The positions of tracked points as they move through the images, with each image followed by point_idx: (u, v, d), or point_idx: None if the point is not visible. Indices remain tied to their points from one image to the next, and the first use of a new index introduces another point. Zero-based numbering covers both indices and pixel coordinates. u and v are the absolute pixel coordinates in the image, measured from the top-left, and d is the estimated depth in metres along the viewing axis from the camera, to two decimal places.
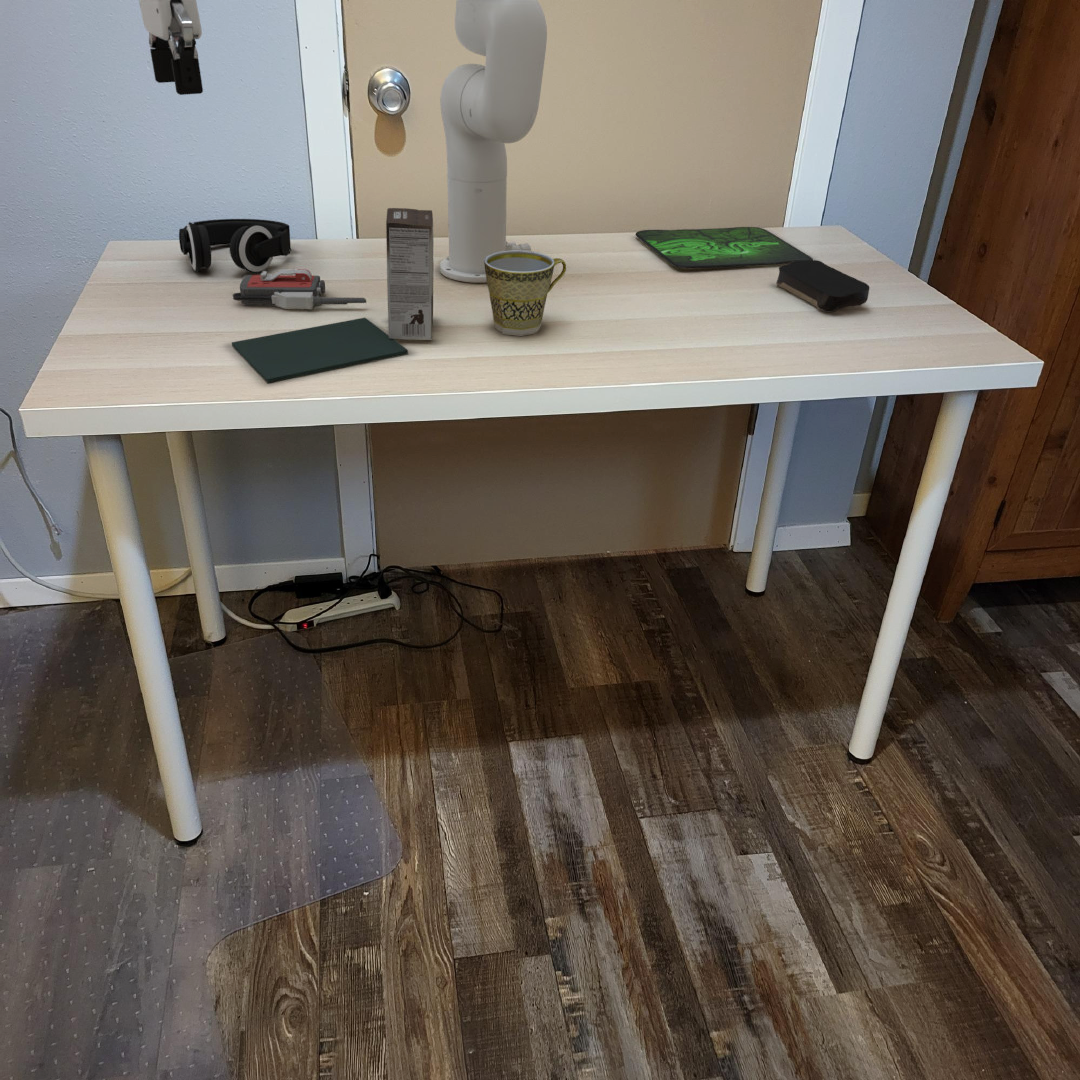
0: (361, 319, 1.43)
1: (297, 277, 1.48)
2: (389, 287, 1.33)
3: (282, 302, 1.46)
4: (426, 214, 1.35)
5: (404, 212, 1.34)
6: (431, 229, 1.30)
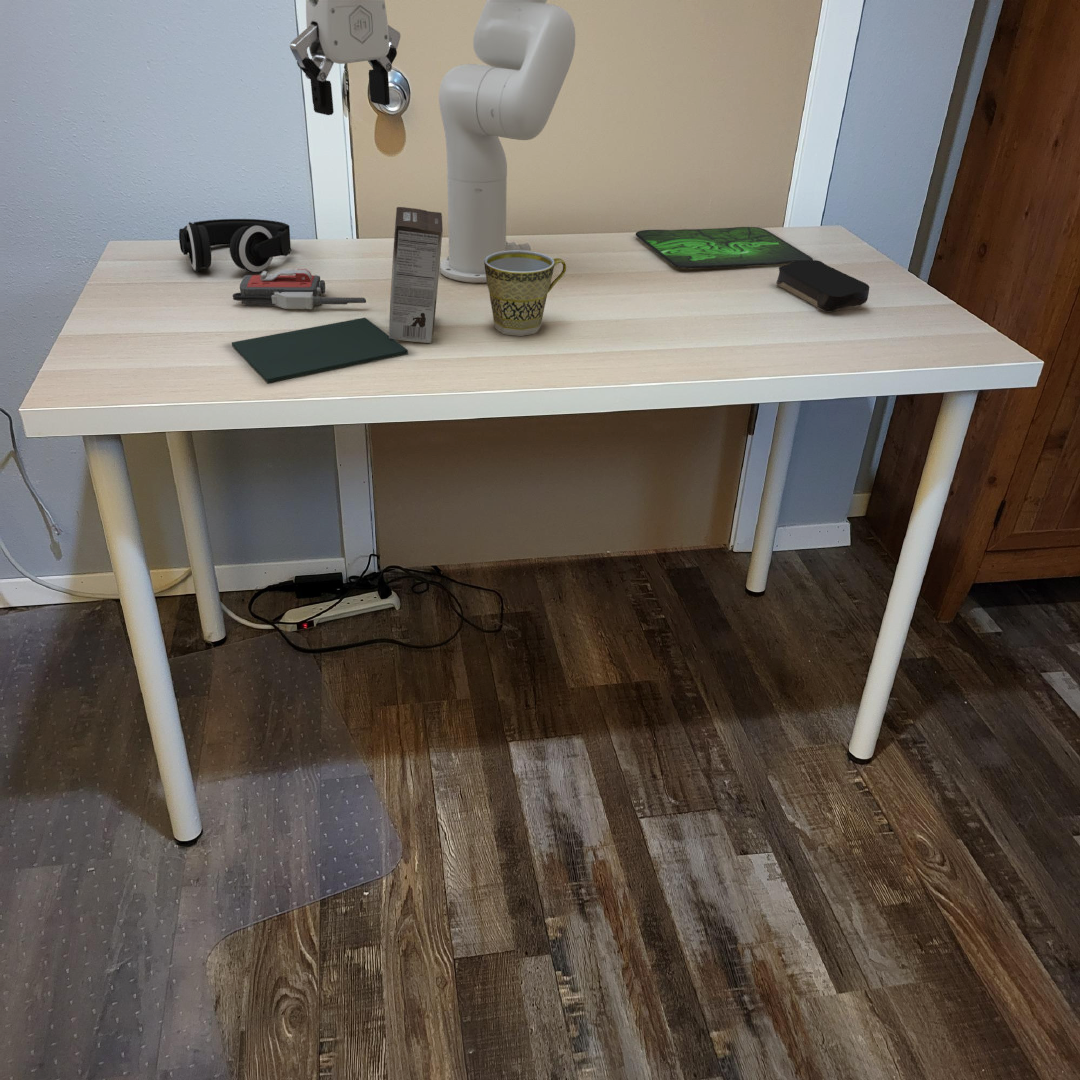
0: (361, 319, 1.43)
1: (297, 277, 1.48)
2: (393, 288, 1.33)
3: (282, 302, 1.46)
4: (436, 217, 1.34)
5: (414, 213, 1.34)
6: (440, 235, 1.30)
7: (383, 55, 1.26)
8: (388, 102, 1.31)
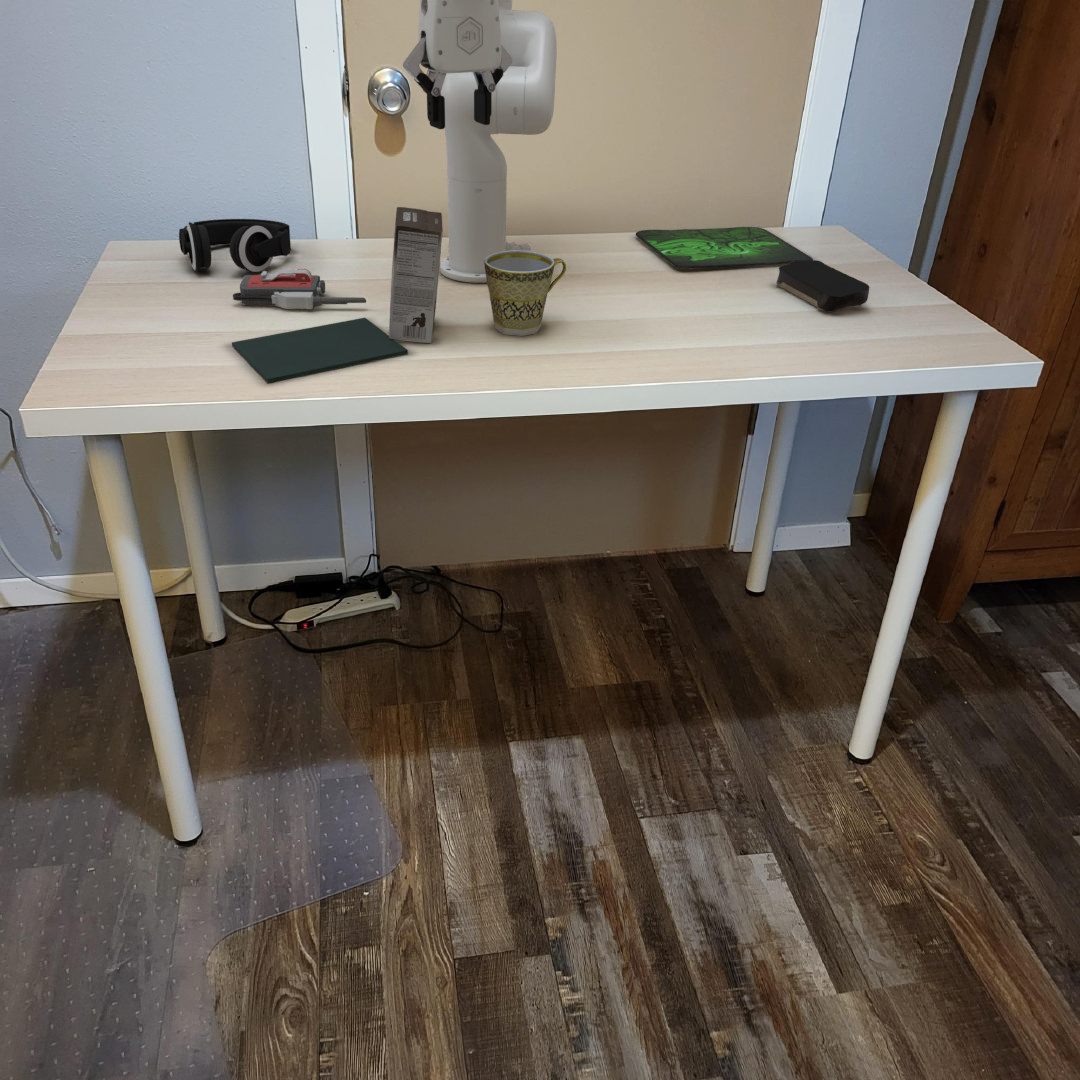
0: (361, 319, 1.43)
1: (297, 277, 1.48)
2: (393, 288, 1.33)
3: (282, 302, 1.46)
4: (436, 217, 1.34)
5: (414, 213, 1.34)
6: (440, 235, 1.30)
7: (493, 67, 1.26)
8: (488, 122, 1.31)
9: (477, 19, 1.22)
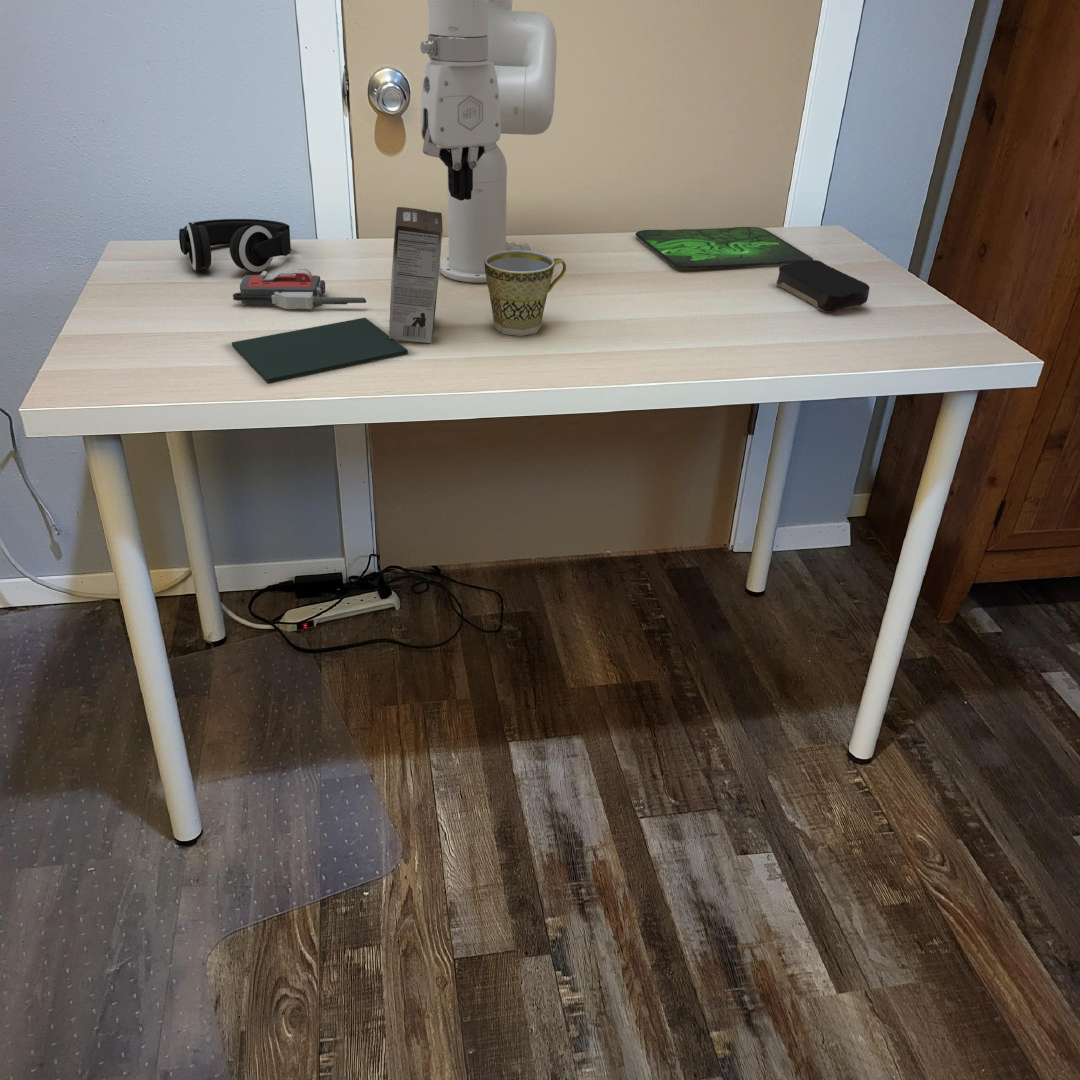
0: (361, 319, 1.43)
1: (297, 277, 1.48)
2: (393, 288, 1.33)
3: (282, 302, 1.46)
4: (436, 217, 1.34)
5: (414, 213, 1.34)
6: (440, 235, 1.30)
7: (492, 141, 1.31)
8: (469, 197, 1.34)
9: (477, 97, 1.27)
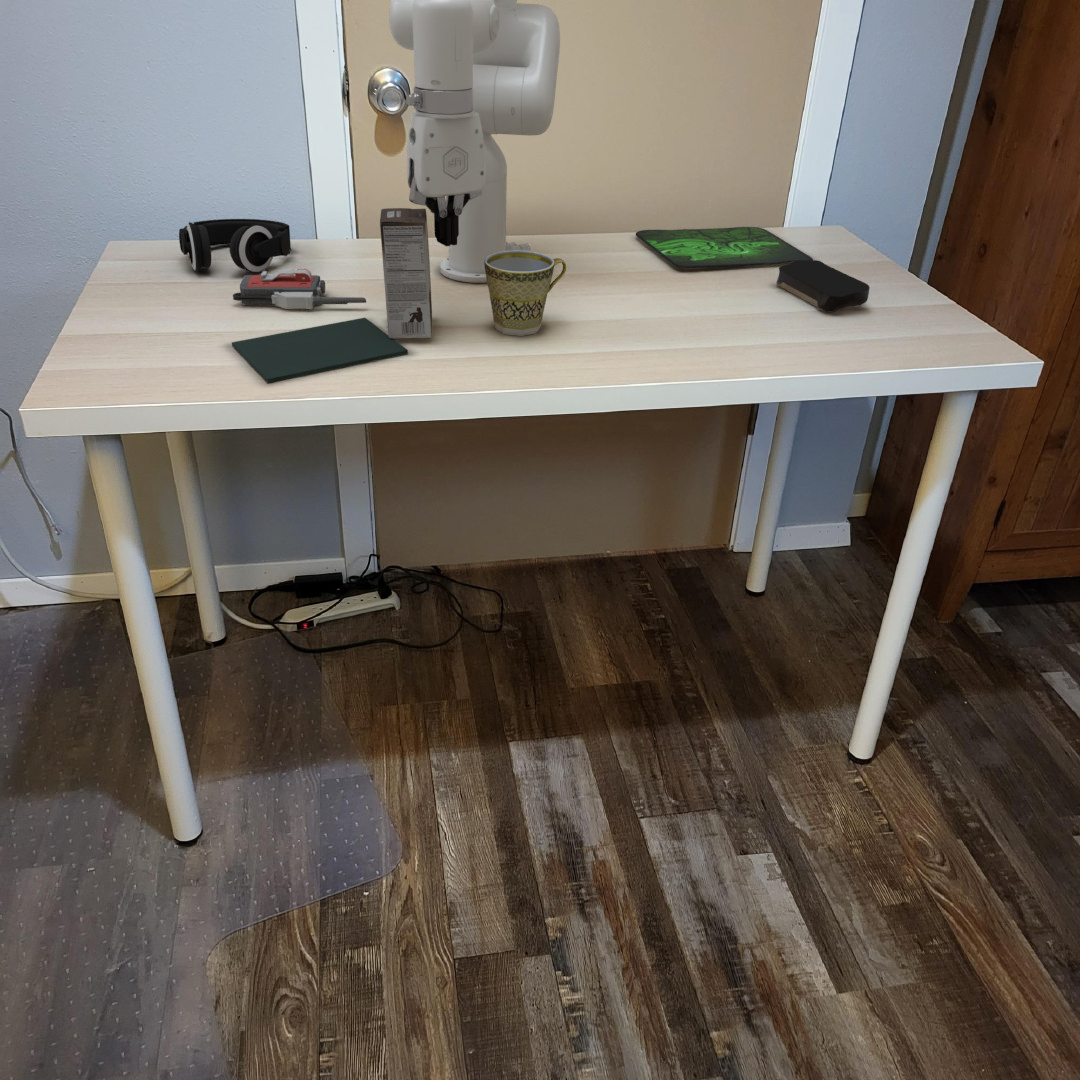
0: (361, 319, 1.43)
1: (297, 277, 1.48)
2: (386, 286, 1.33)
3: (282, 301, 1.46)
4: (420, 212, 1.35)
5: (398, 211, 1.34)
6: (425, 225, 1.30)
7: (478, 189, 1.33)
8: (455, 243, 1.36)
9: (462, 147, 1.29)
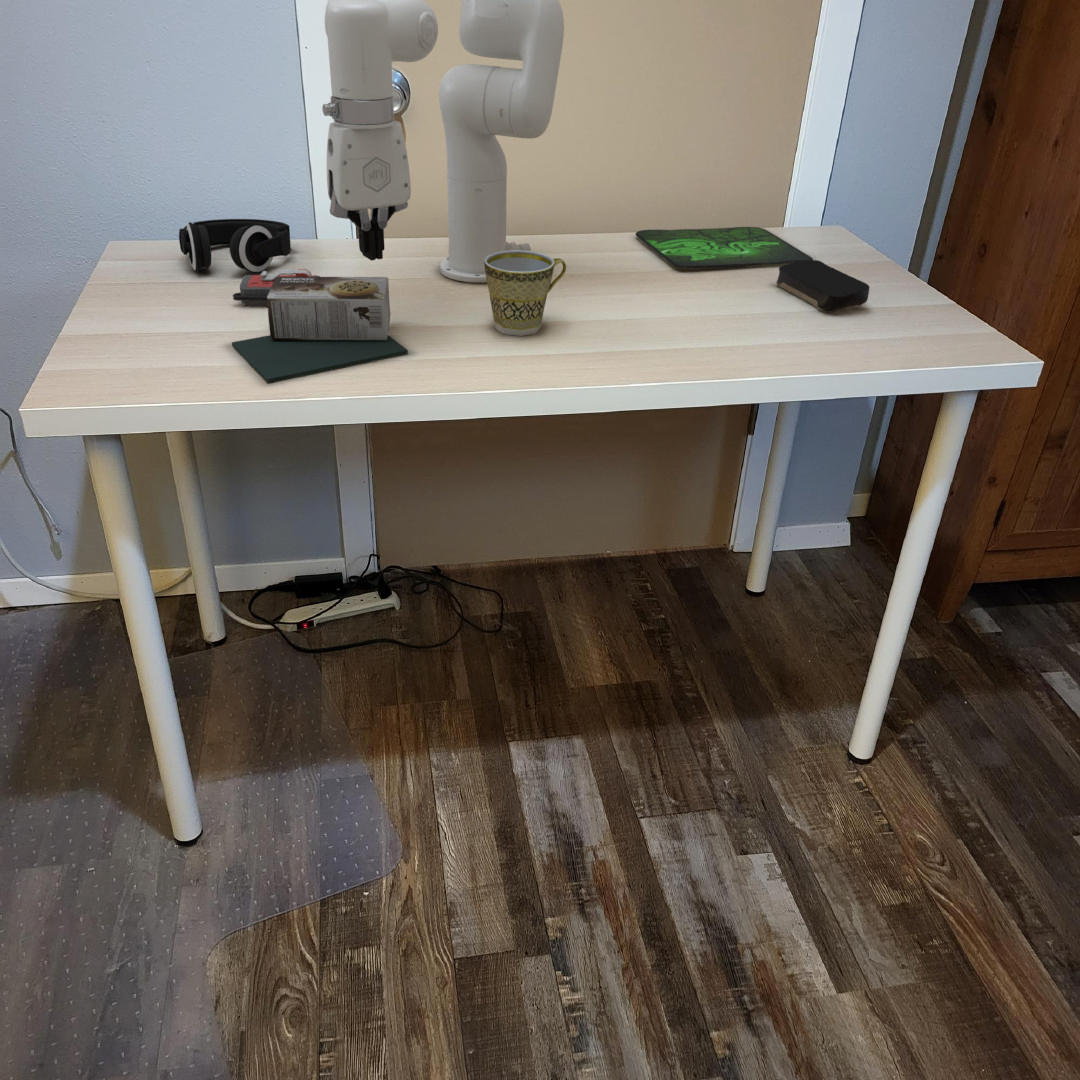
0: None
1: None
2: (334, 338, 1.36)
3: None
4: None
5: None
6: (270, 298, 1.32)
7: (402, 202, 1.28)
8: (381, 257, 1.31)
9: (383, 159, 1.24)
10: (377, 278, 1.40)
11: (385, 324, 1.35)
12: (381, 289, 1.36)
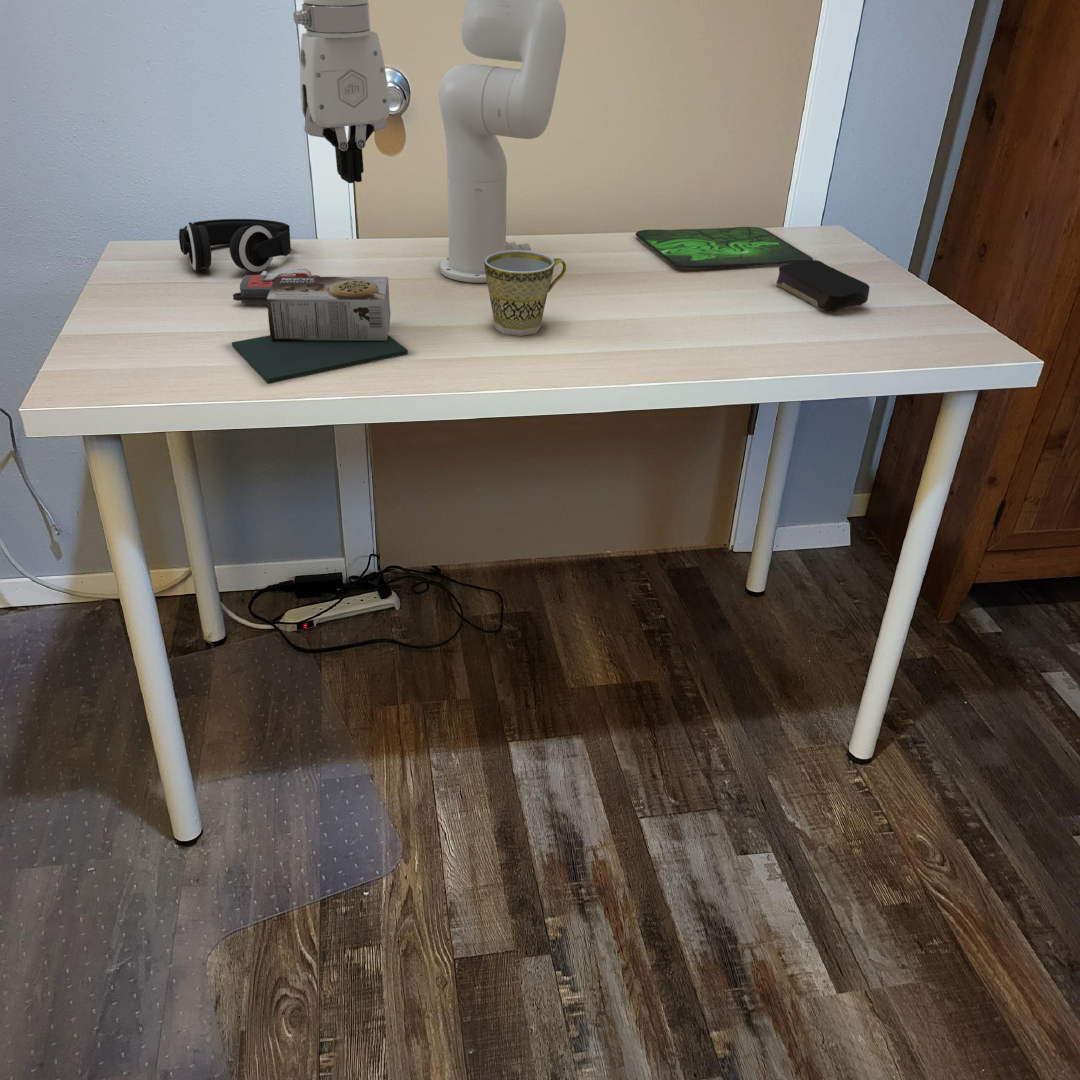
0: None
1: None
2: (334, 339, 1.36)
3: None
4: None
5: None
6: (270, 299, 1.32)
7: (381, 119, 1.22)
8: (360, 179, 1.25)
9: (360, 71, 1.17)
10: (377, 278, 1.39)
11: (385, 324, 1.35)
12: (381, 290, 1.36)
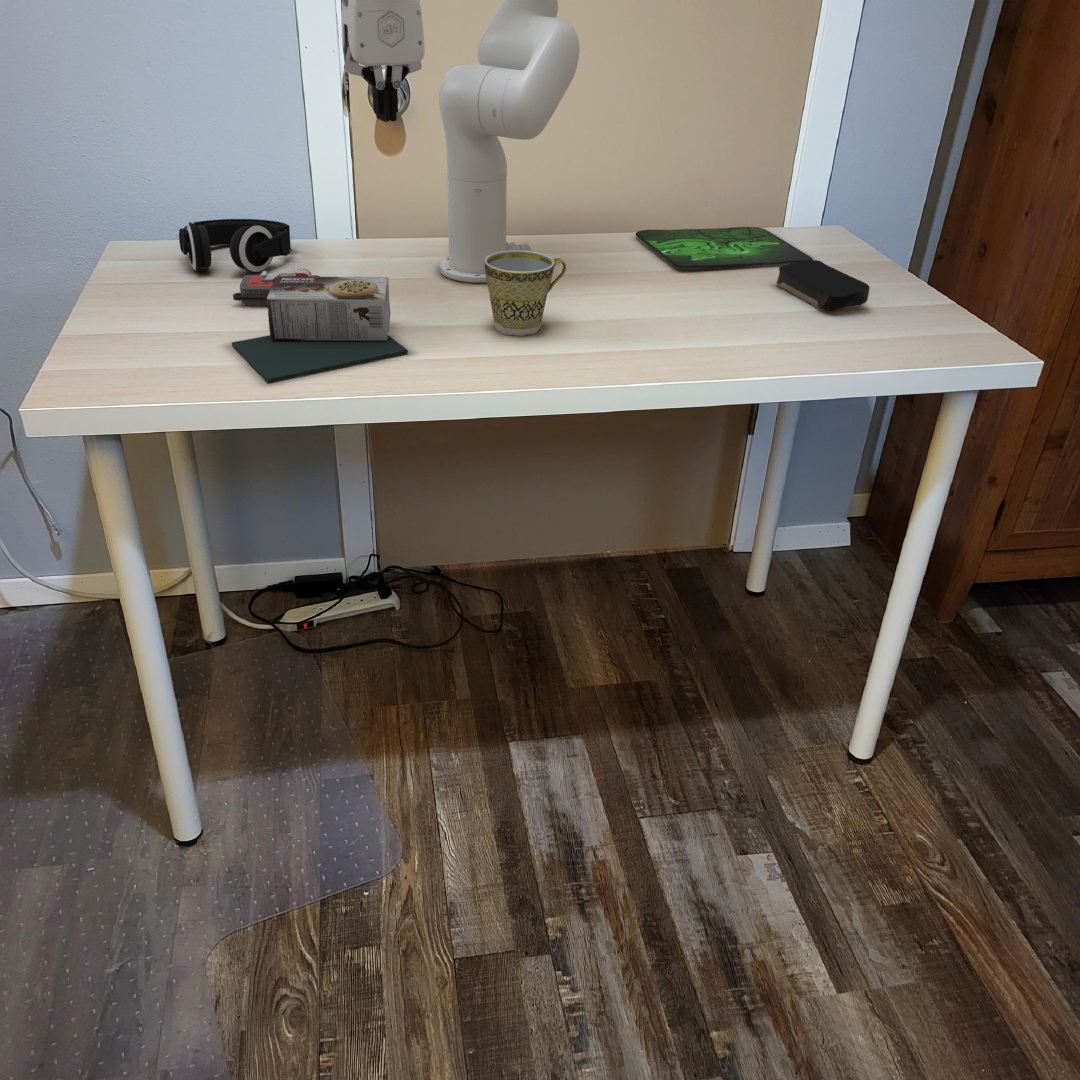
0: None
1: None
2: (334, 339, 1.36)
3: None
4: None
5: None
6: (270, 299, 1.32)
7: (416, 60, 1.29)
8: (395, 118, 1.33)
9: (398, 13, 1.25)
10: (377, 278, 1.39)
11: (385, 324, 1.35)
12: (381, 290, 1.36)
